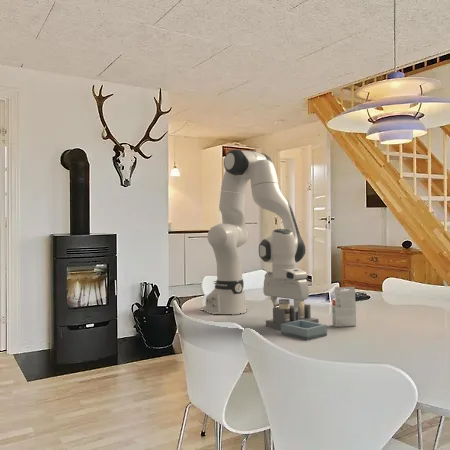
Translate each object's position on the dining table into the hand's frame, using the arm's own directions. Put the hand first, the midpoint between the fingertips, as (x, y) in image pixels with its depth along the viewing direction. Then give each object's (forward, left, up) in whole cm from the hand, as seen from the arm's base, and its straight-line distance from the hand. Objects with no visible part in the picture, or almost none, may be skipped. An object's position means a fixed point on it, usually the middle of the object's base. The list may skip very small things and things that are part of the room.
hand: (285, 309), depth 171 cm
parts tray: (+13, -4, -6) cm, 15 cm away
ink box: (+14, +17, -7) cm, 23 cm away
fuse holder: (0, +4, -6) cm, 7 cm away
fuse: (0, +8, -4) cm, 9 cm away
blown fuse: (0, 0, -4) cm, 4 cm away
